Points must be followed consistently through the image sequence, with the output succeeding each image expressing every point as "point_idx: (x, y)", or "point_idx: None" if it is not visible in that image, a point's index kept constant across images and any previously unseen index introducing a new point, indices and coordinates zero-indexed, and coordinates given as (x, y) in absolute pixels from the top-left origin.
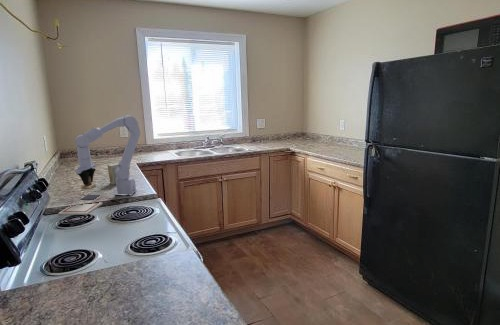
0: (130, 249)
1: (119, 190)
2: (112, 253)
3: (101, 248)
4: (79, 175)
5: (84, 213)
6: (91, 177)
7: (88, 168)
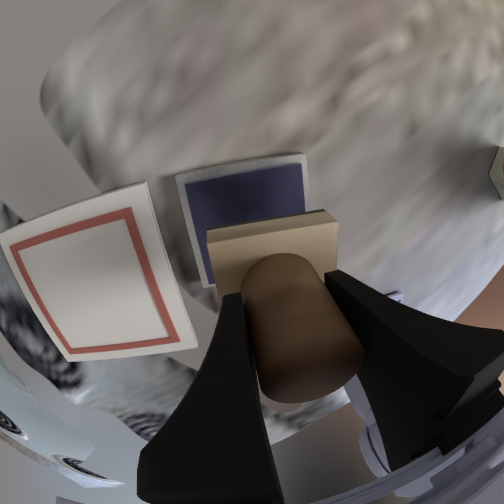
0: (61, 458)
1: None
2: (39, 446)
3: (31, 436)
4: (171, 428)
5: (62, 352)
6: None
7: None
